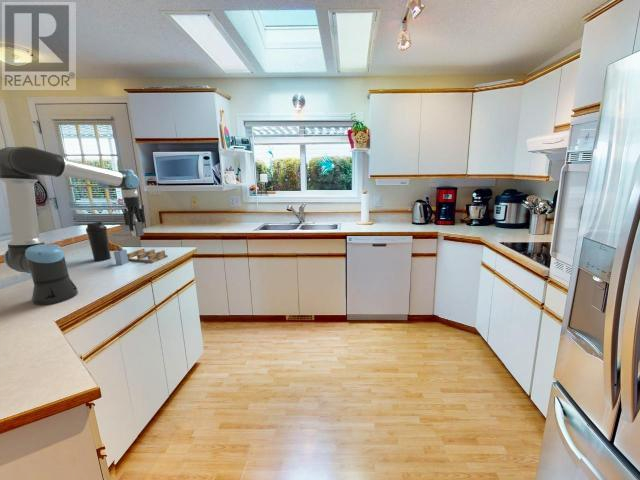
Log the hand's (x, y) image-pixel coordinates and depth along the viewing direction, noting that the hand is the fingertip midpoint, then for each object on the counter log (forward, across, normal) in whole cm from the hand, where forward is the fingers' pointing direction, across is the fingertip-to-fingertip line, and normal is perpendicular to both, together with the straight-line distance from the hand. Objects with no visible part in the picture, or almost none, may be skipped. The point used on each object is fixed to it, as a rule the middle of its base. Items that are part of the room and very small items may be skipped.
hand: (137, 234), depth 181 cm
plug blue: (+15, -10, +4) cm, 19 cm away
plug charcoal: (0, 0, 0) cm, 0 cm away
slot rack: (+15, +1, -3) cm, 16 cm away
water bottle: (+15, -6, +24) cm, 29 cm away
